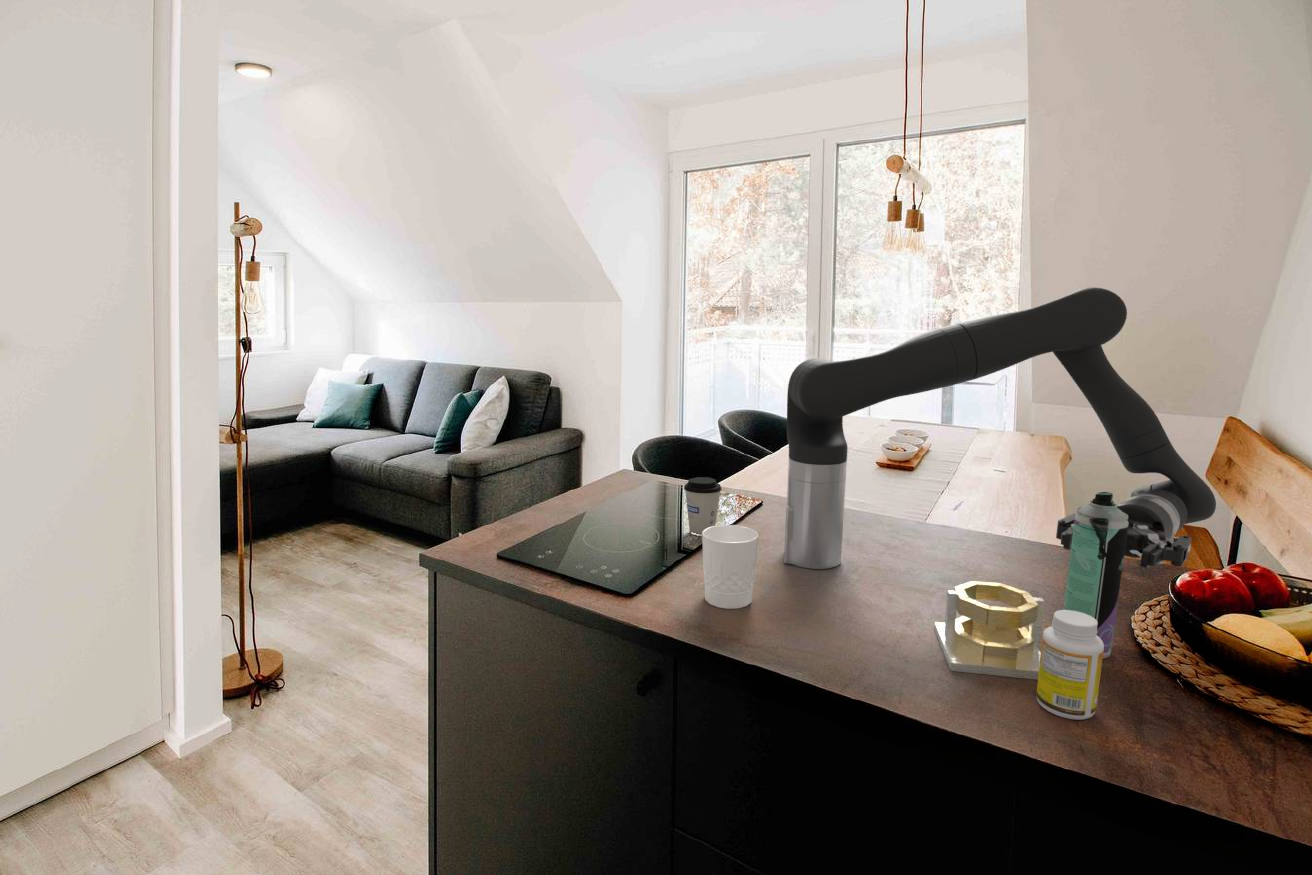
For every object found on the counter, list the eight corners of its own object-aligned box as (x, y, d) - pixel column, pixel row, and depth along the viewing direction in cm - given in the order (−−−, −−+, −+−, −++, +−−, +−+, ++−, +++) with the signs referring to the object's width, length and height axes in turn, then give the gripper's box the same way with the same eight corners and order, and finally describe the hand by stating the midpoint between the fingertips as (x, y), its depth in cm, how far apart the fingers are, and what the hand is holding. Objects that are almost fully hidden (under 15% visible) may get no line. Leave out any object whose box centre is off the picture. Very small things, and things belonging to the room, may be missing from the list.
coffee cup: (715, 525, 136) (716, 475, 134) (725, 537, 129) (726, 484, 127) (679, 527, 134) (680, 476, 132) (687, 539, 128) (688, 485, 126)
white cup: (760, 592, 104) (763, 528, 103) (749, 614, 97) (751, 545, 95) (708, 585, 107) (710, 522, 105) (694, 606, 100) (695, 538, 98)
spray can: (1118, 661, 85) (1140, 500, 81) (1068, 656, 86) (1088, 497, 82) (1099, 640, 90) (1120, 488, 87) (1053, 635, 91) (1071, 485, 88)
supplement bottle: (1068, 690, 78) (1079, 604, 77) (1108, 719, 73) (1121, 627, 71) (1023, 695, 78) (1033, 608, 76) (1060, 725, 72) (1072, 631, 70)
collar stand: (950, 670, 83) (955, 610, 81) (934, 628, 93) (938, 575, 92) (1053, 681, 80) (1060, 619, 79) (1024, 637, 91) (1030, 582, 90)
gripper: (1087, 488, 103) (1046, 509, 93) (1208, 509, 93) (1177, 536, 82) (1081, 537, 105) (1040, 563, 94) (1200, 563, 94) (1168, 596, 84)
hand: (1104, 550), depth 88 cm, fingers open, 8 cm apart
